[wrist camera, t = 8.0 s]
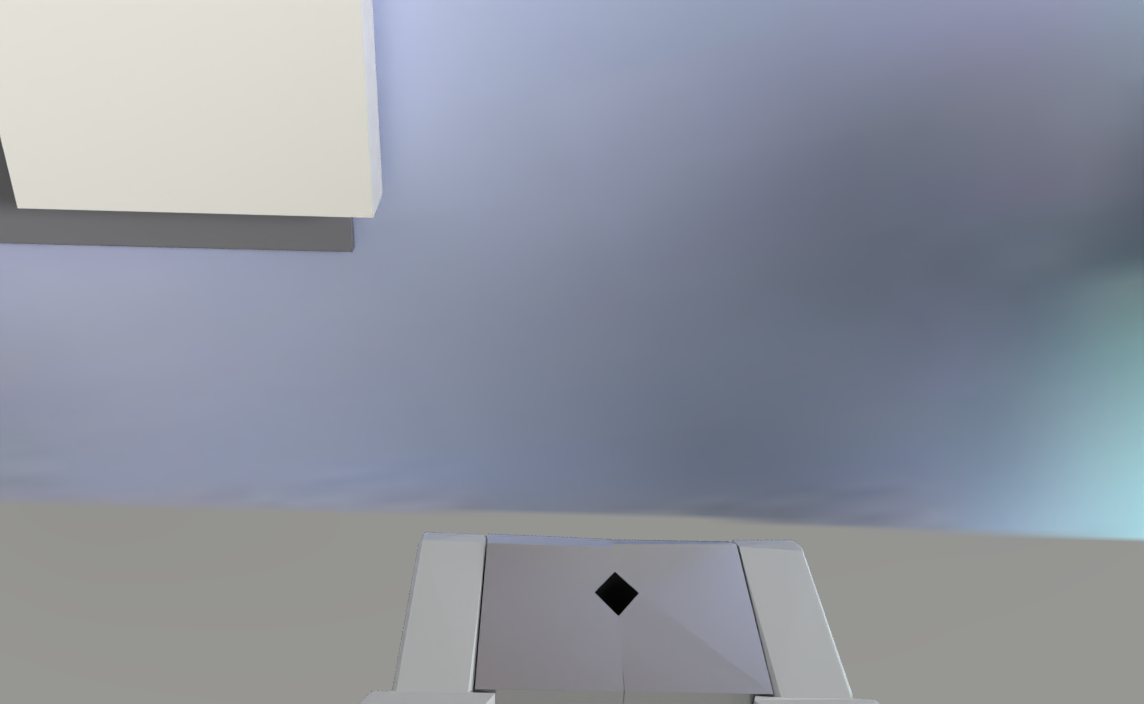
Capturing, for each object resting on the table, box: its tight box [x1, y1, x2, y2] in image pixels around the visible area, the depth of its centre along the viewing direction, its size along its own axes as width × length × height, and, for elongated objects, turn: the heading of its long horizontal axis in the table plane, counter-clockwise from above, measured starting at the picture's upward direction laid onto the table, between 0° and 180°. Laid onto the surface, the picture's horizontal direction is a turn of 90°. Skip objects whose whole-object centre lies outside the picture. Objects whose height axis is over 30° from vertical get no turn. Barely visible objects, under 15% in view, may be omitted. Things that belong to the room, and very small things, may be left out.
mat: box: [0, 138, 355, 252], centre depth 28 cm, size 12×14×1 cm
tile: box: [0, 0, 383, 218], centre depth 27 cm, size 2×10×10 cm
